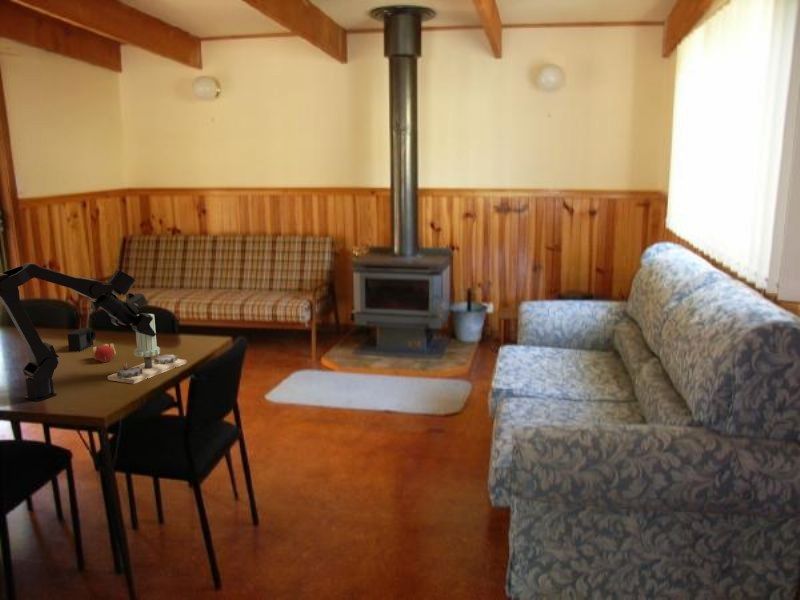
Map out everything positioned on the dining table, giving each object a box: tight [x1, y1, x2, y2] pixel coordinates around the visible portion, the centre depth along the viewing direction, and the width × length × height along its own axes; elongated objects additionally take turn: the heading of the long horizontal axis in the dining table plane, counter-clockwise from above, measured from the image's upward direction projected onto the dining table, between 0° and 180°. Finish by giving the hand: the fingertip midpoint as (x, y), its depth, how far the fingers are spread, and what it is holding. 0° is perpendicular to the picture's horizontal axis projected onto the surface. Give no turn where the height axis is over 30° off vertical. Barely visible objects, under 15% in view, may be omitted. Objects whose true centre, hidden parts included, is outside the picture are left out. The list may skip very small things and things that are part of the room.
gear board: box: [107, 353, 188, 385], centre depth 227 cm, size 25×11×5 cm, turn 157°
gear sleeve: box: [133, 313, 161, 358], centre depth 224 cm, size 8×8×13 cm
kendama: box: [92, 343, 116, 363], centre depth 244 cm, size 8×6×18 cm
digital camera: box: [67, 327, 96, 353], centre depth 256 cm, size 10×5×7 cm, turn 177°
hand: (149, 333), depth 225 cm, fingers closed on gear sleeve, 6 cm apart
